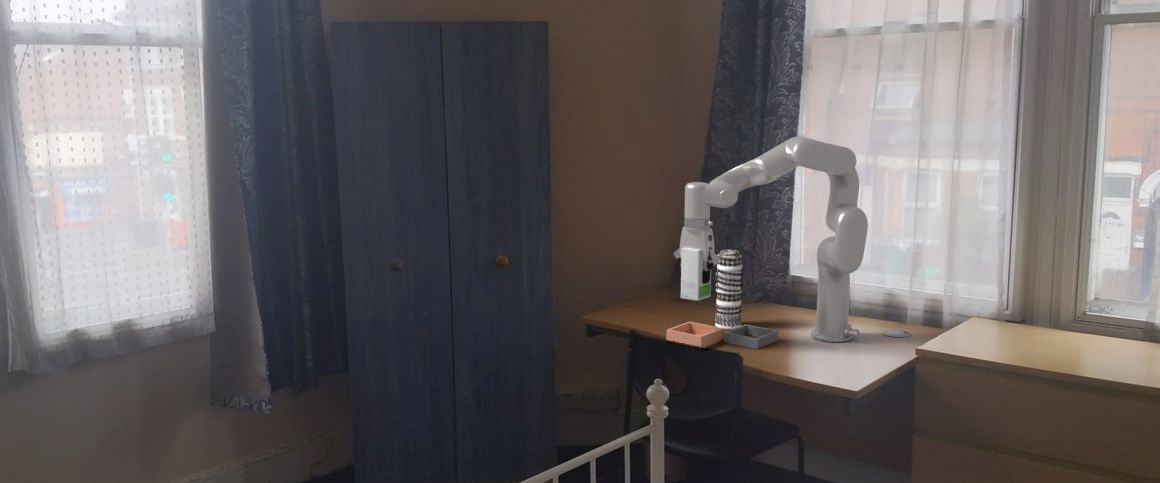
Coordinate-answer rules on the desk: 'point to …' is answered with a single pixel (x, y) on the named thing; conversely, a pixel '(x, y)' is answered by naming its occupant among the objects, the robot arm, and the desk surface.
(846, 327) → the robot arm
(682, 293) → the skincare box
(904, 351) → the desk surface
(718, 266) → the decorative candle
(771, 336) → the frame
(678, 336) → the terracotta bin
